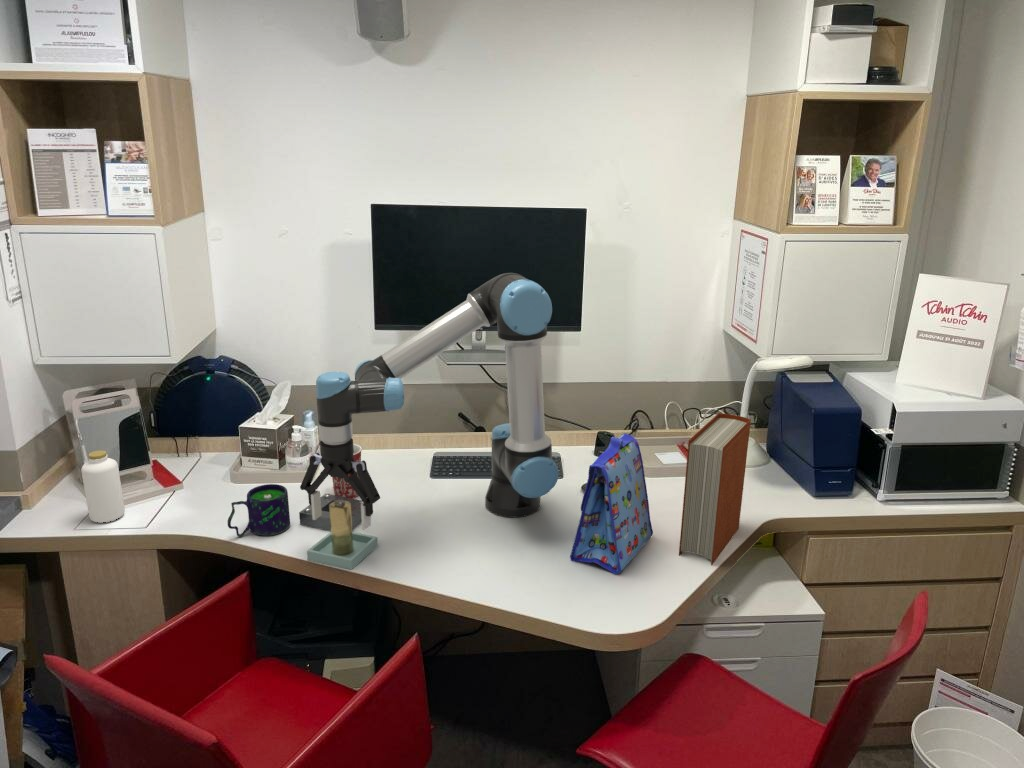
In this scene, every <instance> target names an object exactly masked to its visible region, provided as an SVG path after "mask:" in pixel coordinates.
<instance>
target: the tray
mask: <svg viewBox="0 0 1024 768" xmlns="http://www.w3.org/2000/svg"><path fill="white" fill-rule="evenodd" d="M352 533H353V549H354V550H353V552H352V553H350V554H348V555H343V556H339V555H335V554H333V552H332V540H331V531H329V533H328V534H326V535H325V536H324V537H322V538H321V539H320V540H319V541H317V542H316V543H314V544H313V545H312V546H311V547H310V548H308V549H307V551H306V558H307V561H311V562H316V563H318V564H319V563H320V564H325V565H329V566H333V567H338V568H342V569H345V570H350V571H352V570H353V569H355V567H356V566H358V565H359V564H360V563H361V562H362V561H363V560H364V559H365V558H366V557H367V556H369V555H370V554H371V552H372V551H374V550H375V549H376V548H377V547H378V546H379V541H378V540H379V539H378V536H375V535H371V534H365V533H361V532H355V531H352Z"/></svg>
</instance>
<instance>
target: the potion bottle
mask: <svg viewBox="0 0 1024 768" xmlns="http://www.w3.org/2000/svg"><path fill="white" fill-rule="evenodd" d="M119 470H120V469H119V465H118V462H117V460H115V459H114V458H110V457H108V454H107V451H106V450H94V451H91V452H89V453H88V461H86V462H85V463H84V464H83V465H82V467H81V477H82V482H83V488H84V493H85V499H86V500H85V501H86V506H87V511H88V518H89V519H90V520H91V521H92V522H94V523H97V522H98V523H99V524H104V523H103V522H106V523H111V522H114V521H117V520H119V519H120V518H122V517H123V515H125V513H126V510H125V501H124V497H123V489H122V483H121V477H120V476H121V475H120V471H119ZM118 518H119V519H118ZM116 519H117V520H116ZM110 521H111V522H110Z"/></svg>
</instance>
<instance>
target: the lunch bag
mask: <svg viewBox="0 0 1024 768" xmlns="http://www.w3.org/2000/svg"><path fill="white" fill-rule="evenodd" d="M587 475H588V479H587V483H586V486H585V491H584V493H583V496H582V500H581V504H580V511H581V515H580V518H579V521H578V522H579V523H578V526H577V529H576V533H575V538H574V540H573V544H572V547H571V548H572V549H571V552H570V554H569V559H570V561H573V562H577V563H578V562H583V563H591V564H593V563H594V564H597V565H599V566H600V567H602V568H603V569H605V570H606V571H608V572H611V573H613V574H614V575H619V574H620V573H621V572H622V571H623V570H624V568H626V566H627V565H628V564H629V563H630V562H631V561H632V559H634V557H636V555H637V554H638V553H639V551H640V550H641V549H642V548H643V547H644V546H645V544H646V543H648V541H649V540H650V539H651V537H652V536H654V535H653V534H654V531H653V527H652V521H651V515H650V504H649V497H648V495H649V494H648V490H647V489H648V488H647V482H646V478H645V477H646V475H645V469H644V462H643V457H642V453H641V448H640V445H639V443H638V440H637V439H636V438H635V437H634V436H632V435H631V434H629V433H623V434H622V435H621V436H620V437H616V436H612V437H611V438H610V441H609V444H608V446H607V448H606V449H605V451H604V452H602V453H601V454H600V455H599V456H598V457H597V458H596V459H595V461H593V463H591V465H589V467H588V474H587Z"/></svg>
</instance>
